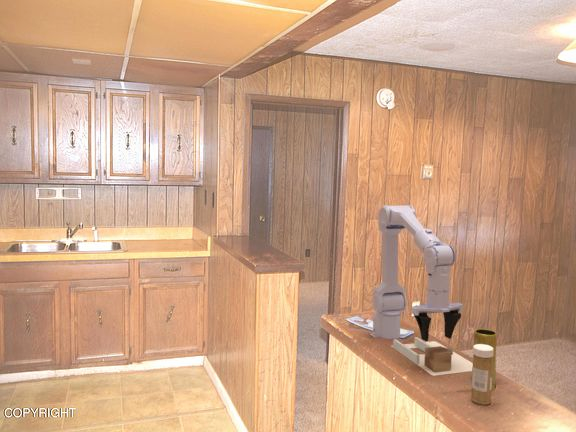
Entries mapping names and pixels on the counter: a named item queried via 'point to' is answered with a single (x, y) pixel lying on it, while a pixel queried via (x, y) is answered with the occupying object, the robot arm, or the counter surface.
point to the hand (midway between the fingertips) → (436, 338)
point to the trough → (408, 351)
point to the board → (457, 361)
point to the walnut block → (438, 359)
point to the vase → (489, 339)
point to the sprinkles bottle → (482, 374)
